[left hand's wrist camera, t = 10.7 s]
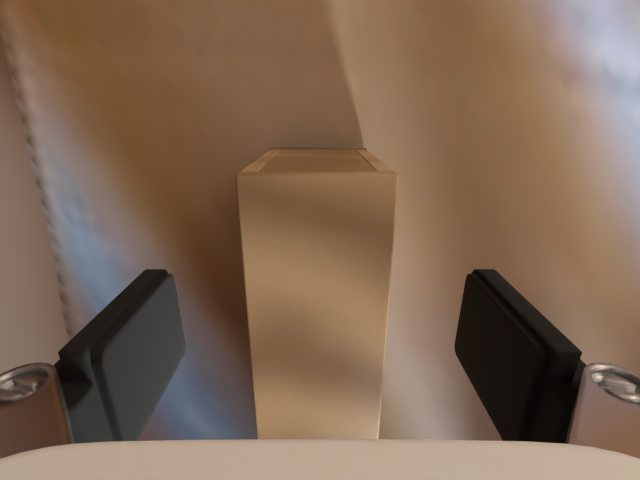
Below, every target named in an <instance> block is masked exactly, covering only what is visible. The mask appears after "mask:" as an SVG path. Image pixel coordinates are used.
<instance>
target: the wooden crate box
mask: <svg viewBox="0 0 640 480" xmlns="http://www.w3.org/2000/svg"><path fill="white" fill-rule="evenodd" d="M398 177H399V175H398V174H397V173H396V172H394V171H393V170H392V169H390V168H389V167H388V166H387V165H385V164H384V163H383V162H381V161H380V160H379V159H377V158H376V157H375V156H374V155H372V154H371V153H370V152H368V151H367V149H366V148H271V149H269V151H267V152H266V153H265V154H263V155H262V156H261V157H259V158H258V159H257V160H255V161H254V162H252V163H251V164H250V165H248V166H247V167H246V168H244V169H243V170H241V171H240V172H239V173H237V174H236V186H237V198H238V210H239V222H240V234H241V246H242V258H243V270H244V282H245V294H246V306H247V318H248V330H249V342H250V354H251V367H252V379H253V391H254V403H255V415H256V427H257V439H378V437H379V424H380V411H381V398H382V385H383V372H384V359H385V346H386V333H387V320H388V307H389V294H390V281H391V268H392V255H393V242H394V229H395V216H396V203H397V190H398Z"/></svg>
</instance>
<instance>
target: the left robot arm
mask: <svg viewBox="0 0 640 480" xmlns="http://www.w3.org/2000/svg"><path fill="white" fill-rule="evenodd" d="M184 352H185V340H184V334H183V329H182V323H181V317H180V311H179V305H178V299H177V293H176V288H175V282H174V277H173V275H172V274H168V272H167V271H166V270H164V269H146V270H145V271H143V272H142V273H141V274H140V275H139V276H138V277H137V278H136V279H135V280H134V281H133V282H132V283H131V284H130V285H129V286H128V287H127V288H125V289H124V290H123V291H122V292H121V293H120V294H119V295H118V296H117V297H116V298H115V299H114V300H113V301H112V302H111V303H110V304H109V305H107V306H106V307H105V308H104V309H103V310H102V311H101V312H100V313H99V314H98V315H97V316H96V317H95V318H94V319H93V320H92V321H91V322H89V323H88V324H87V325H86V326H85V327H84V328H83V329H82V330H81V331H80V332H79V333H78V334H77V335H76V336H75V337H74V338H73V339H71V340H70V341H69V342H68V343H67V344H66V345H65V346H64V347H63V348H62V349H61V350H60V351H59V352H58V354H59V357H60V360H59V361H58V362H57V363H56V364H55V365H51V364H49V363H33V364H27V365H23V366H20V367H16V368H14V369H11V370H9V371H7V372H4V373H2V374H0V480H640V374H638V373H636V372H633V371H631V370H629V369H626V368H624V367H620V366H617V365H613V364H608V363H591V364H589V365H585V364H584V363H583V362H582V361H581V360H580V357H581V354H582V352H581V351H580V350H579V349H578V348H577V347H576V346H575V345H574V344H573V343H572V342H571V341H570V340H569V339H567V338H566V337H565V336H564V335H563V334H562V333H561V332H560V331H559V330H558V329H557V328H556V327H555V326H554V325H553V324H552V323H551V322H549V321H548V320H547V319H546V318H545V317H544V316H543V315H542V314H541V313H540V312H539V311H538V310H537V309H536V308H535V307H534V306H533V305H531V304H530V303H529V302H528V301H527V300H526V299H525V298H524V297H523V296H522V295H521V294H520V293H519V292H518V291H517V290H516V289H515V288H513V287H512V286H511V285H510V284H509V283H508V282H507V281H506V280H505V279H504V278H503V277H502V276H501V275H500V274H499V273H498V272H497V271H495V270H494V269H476V270H474V271H473V272H472V274H468V275H467V277H466V282H465V288H464V293H463V299H462V305H461V311H460V317H459V323H458V328H457V334H456V340H455V352H456V355H457V357H458V359H459V361H460V363H461V364H462V366H463V368H464V370H465V372H466V374H467V375H468V377H469V379H470V381H471V383H472V385H473V387H474V388H475V390H476V392H477V394H478V396H479V398H480V399H481V401H482V403H483V405H484V407H485V409H486V410H487V412H488V414H489V416H490V418H491V420H492V421H493V423H494V425H495V427H496V429H497V431H498V432H499V434H500V436H501V438H502V440H503V441H480V440H402V439H238V440H160V441H137V440H138V438H139V436H140V434H141V432H142V431H143V429H144V427H145V425H146V423H147V421H148V420H149V418H150V416H151V414H152V412H153V410H154V409H155V407H156V405H157V403H158V401H159V399H160V398H161V396H162V394H163V392H164V390H165V388H166V387H167V385H168V383H169V381H170V379H171V377H172V375H173V374H174V372H175V370H176V368H177V366H178V364H179V363H180V361H181V359H182V357H183V355H184Z"/></svg>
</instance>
